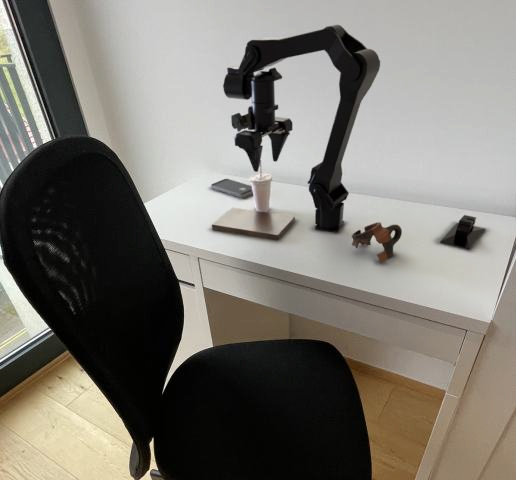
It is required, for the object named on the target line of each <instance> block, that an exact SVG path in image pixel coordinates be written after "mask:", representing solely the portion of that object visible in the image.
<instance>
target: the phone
mask: <svg viewBox="0 0 516 480" xmlns="http://www.w3.org/2000/svg"><path fill="white" fill-rule="evenodd" d="M210 188H211V189H213V190H216V191H219V192H222V193H226V194H228V195H231V196H234V197H237V198H241V199H245V198H247V197H249V196H252V195H253V190H252V185H251V184H247V183H244V182H243V183H242V182H240V181H237V180H233V179H229V178H224V179H221V180H218V181H215V182H213V183H211V185H210Z"/></svg>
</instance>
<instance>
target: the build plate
mask: <svg viewBox="0 0 516 480" xmlns="http://www.w3.org/2000/svg"><path fill="white" fill-rule="evenodd" d="M476 221H477V217H476V216H471V215H466V214H464V215H462V216H461V218H460V219H459V220H458V222H456V223H455V224H454V225H453V227H451V228H450V230H449V231H448V232H447V233H446V234H445V235H444V236H443V238H441V239H440V240H439V243H440V244H443V245H447V246H451V247H455V248H458V249H463V250H466V251H467V250H468V251H470V250H471V249H472V248H473V246H474V245H475V244H476V242H477V241H478V240H479V238H480V237H481V236H482V235H483V233H484V232H486V228H484V227H480V226H475V224H476Z"/></svg>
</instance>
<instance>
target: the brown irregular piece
mask: <svg viewBox="0 0 516 480" xmlns="http://www.w3.org/2000/svg"><path fill="white" fill-rule="evenodd" d="M363 230H364V231H363V232H362V230H361V229H358V230H356V231H354V232H353V233H352V235H351V239H352V242H351V246H352V247H353V246H354V247H355V249H357V250H358V249H359V248H358V247H359V245H361V246H362V247H363V246H364V245H365V246H371V245H372V244H371V241H372V238H373V237H374V238H375V241H376V242H377V243H378V244H381V245H382V248H383V251H381V252H380V253H377V255H376V257H377V259H378V263H379V264H382V263H384V262H386V261H388V260H390V259H392V257H394V246H395V245H396V244H397V243H398V242H399V241H400V239H401V238H402V234H403V230H402V228H401V226H400V225H398V224H391V225H389V226H386V227H384V226H383V225H382V223H381V222H375V223H371V224H369V225H366V226H364V227H363ZM393 231H394V234H393V236H392V232H393Z"/></svg>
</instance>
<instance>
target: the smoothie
mask: <svg viewBox="0 0 516 480" xmlns="http://www.w3.org/2000/svg"><path fill="white" fill-rule="evenodd" d="M272 181H273V176H272V175H271V174H270V173H263V171H262V160H261V159H260V165H259V173H255V174H252V175H251V176H250V177H249V183H250V186H252V190H253V194H252V196H253V200H254V205H255V211H260V212H267V213H269V210H270V198H271V188H272Z"/></svg>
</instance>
